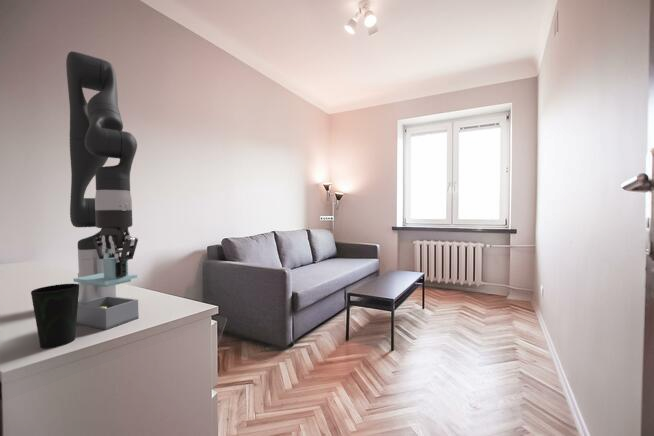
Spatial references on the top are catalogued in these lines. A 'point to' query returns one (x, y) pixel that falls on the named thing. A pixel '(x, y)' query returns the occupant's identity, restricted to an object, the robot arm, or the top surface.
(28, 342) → the top surface
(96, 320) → the tub
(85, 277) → the lid
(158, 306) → the top surface
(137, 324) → the top surface
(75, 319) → the cup
